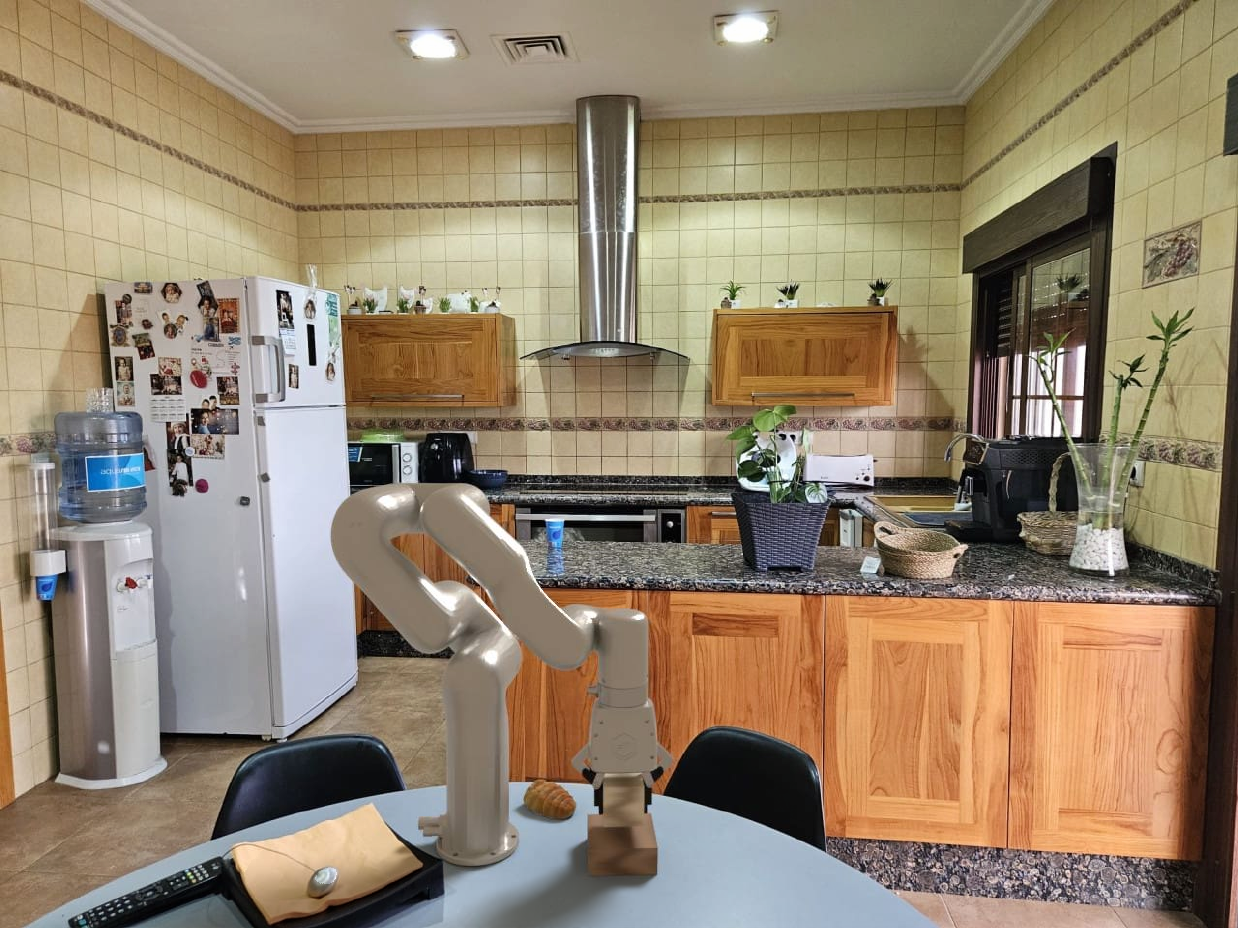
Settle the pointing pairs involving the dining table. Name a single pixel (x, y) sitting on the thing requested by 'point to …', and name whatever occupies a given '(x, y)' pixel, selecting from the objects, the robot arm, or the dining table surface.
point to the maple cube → (623, 800)
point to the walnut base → (621, 848)
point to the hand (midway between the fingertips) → (622, 808)
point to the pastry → (549, 800)
